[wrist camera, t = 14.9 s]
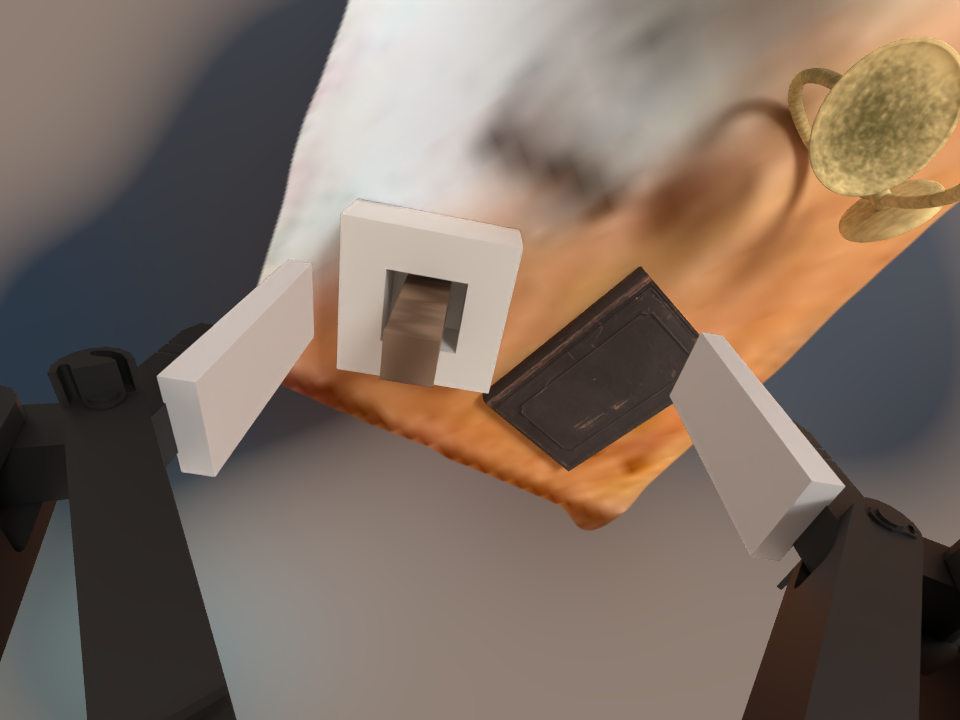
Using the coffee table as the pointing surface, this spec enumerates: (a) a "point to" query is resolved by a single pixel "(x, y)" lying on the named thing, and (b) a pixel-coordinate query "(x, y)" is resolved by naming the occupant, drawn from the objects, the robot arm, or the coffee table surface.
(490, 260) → the grey well block
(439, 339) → the walnut peg
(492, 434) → the coffee table surface
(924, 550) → the robot arm
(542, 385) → the hardcover book
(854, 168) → the wall sconce
